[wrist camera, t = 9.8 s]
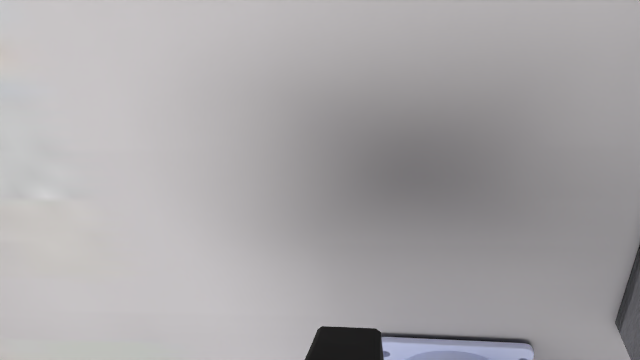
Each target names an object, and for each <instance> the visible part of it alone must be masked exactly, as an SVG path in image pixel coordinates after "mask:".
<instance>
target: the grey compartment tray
mask: <svg viewBox="0 0 640 360" xmlns="http://www.w3.org/2000/svg"><path fill="white" fill-rule="evenodd" d="M616 326H617V328H618V330H619V333H620V335H621V337H622V340H623V342H624V344H625V347H626V349H627V352H628V354H629V356H630V359H631V360H640V247H639V250H638V253H637V256H636V259H635V262H634V266H633V269H632V272H631V275H630V278H629V281H628V285H627V288H626V291H625V294H624V297H623V300H622V304H621V307H620V310H619V313H618V316H617V319H616Z"/></svg>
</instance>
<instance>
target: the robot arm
mask: <svg viewBox="0 0 640 360" xmlns="http://www.w3.org/2000/svg"><path fill="white" fill-rule="evenodd" d="M533 359H534V352H533V348H532V346H531V345H528V344H525V343H510V342H488V341H466V340H444V339H423V338H401V337H381V332H380V331H378V330H377V329H372V328H348V327H324V326H322V327H320V328H319V329H318V330H317V333H316V335H315V338H314V340H313V343H312V345H311V347H310V349H309V352H308V354H307V356H306V358H305V360H533Z"/></svg>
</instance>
